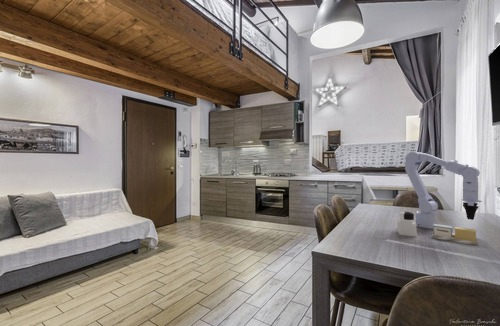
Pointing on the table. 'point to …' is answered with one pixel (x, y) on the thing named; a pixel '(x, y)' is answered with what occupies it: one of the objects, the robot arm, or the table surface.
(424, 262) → the table surface
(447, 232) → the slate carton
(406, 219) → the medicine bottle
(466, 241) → the beige divided tray
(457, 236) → the ochre carton
